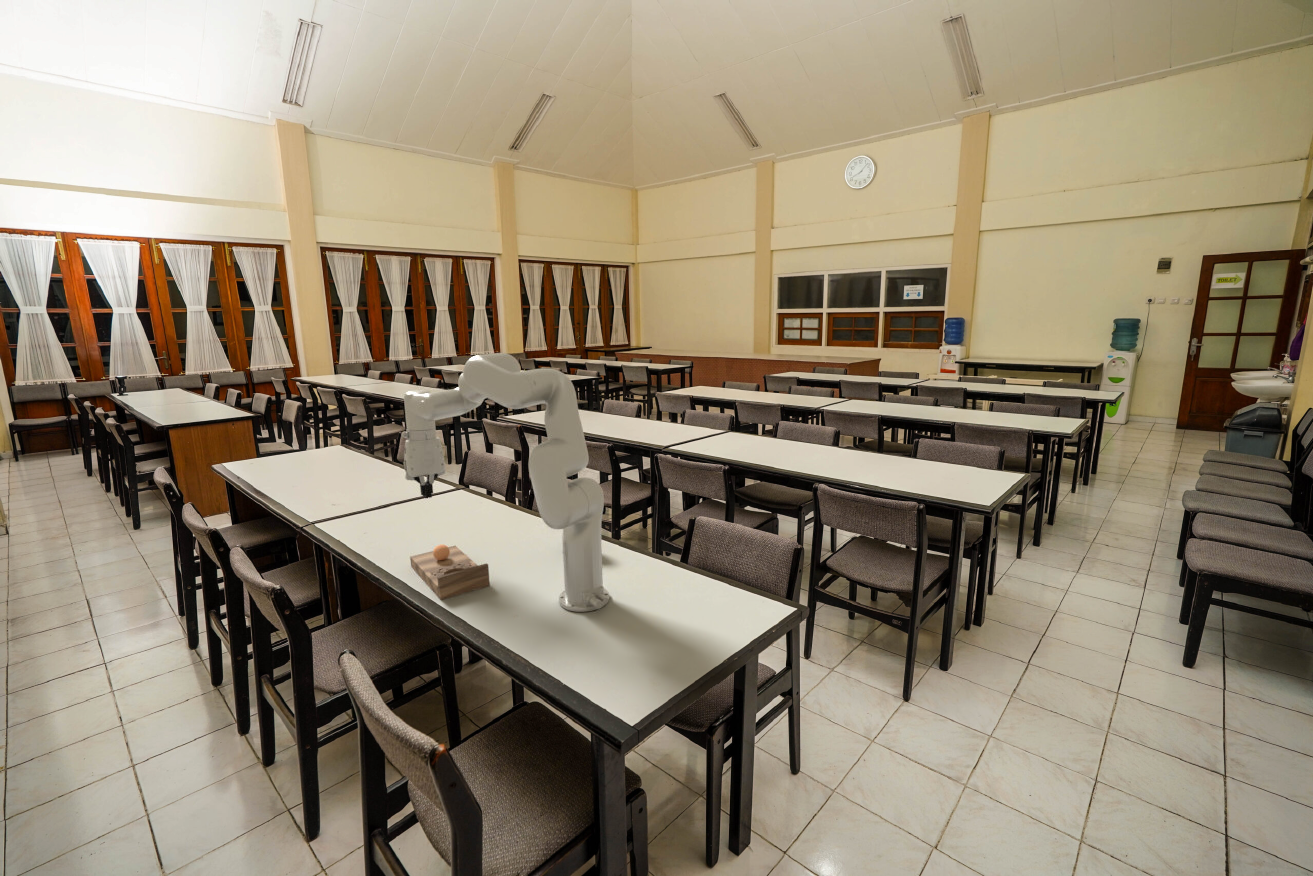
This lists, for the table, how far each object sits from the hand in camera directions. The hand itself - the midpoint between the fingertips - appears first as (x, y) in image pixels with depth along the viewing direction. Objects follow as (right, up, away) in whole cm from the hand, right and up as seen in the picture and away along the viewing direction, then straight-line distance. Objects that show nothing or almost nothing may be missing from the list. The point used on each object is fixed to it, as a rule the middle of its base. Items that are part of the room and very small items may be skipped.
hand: (427, 496), depth 171 cm
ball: (+5, -15, -3) cm, 17 cm away
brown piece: (+8, -21, -6) cm, 24 cm away
